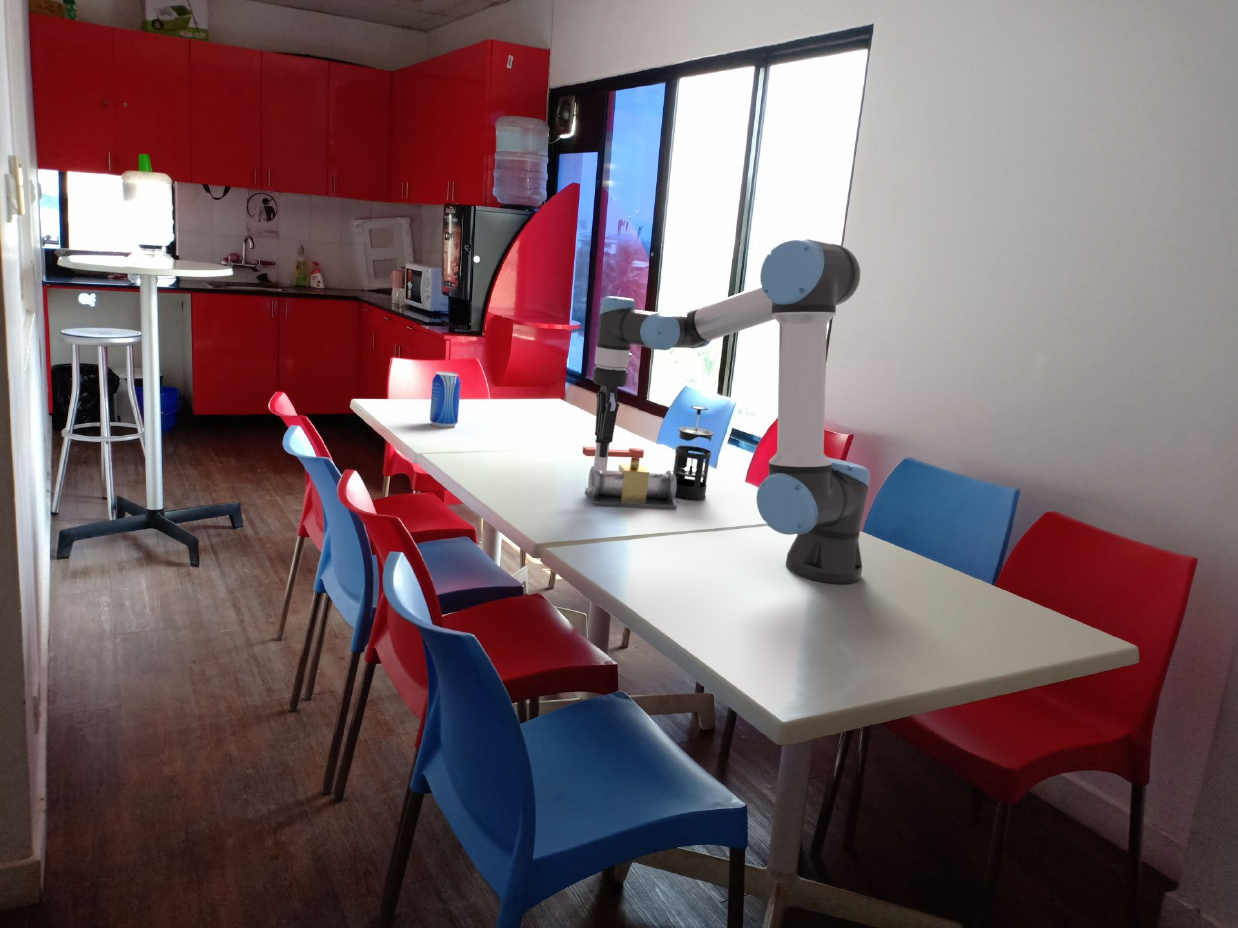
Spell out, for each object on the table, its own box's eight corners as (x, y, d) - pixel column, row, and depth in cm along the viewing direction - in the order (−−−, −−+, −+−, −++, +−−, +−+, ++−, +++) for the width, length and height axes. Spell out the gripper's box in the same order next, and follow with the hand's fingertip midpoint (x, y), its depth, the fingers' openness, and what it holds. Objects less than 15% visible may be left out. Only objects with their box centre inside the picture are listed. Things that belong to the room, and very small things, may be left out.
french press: (713, 501, 232) (726, 411, 227) (679, 501, 228) (692, 410, 223) (692, 488, 243) (704, 402, 237) (660, 488, 239) (671, 400, 234)
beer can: (426, 422, 285) (430, 370, 281) (453, 422, 289) (457, 371, 285) (433, 428, 278) (436, 375, 274) (460, 428, 281) (464, 376, 278)
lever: (639, 454, 224) (640, 448, 223) (645, 458, 221) (646, 451, 220) (581, 452, 219) (582, 446, 218) (586, 456, 215) (587, 449, 215)
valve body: (663, 495, 232) (668, 455, 230) (676, 509, 221) (682, 467, 218) (585, 491, 227) (589, 449, 225) (594, 505, 216) (599, 461, 214)
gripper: (634, 373, 200) (622, 478, 206) (621, 364, 213) (610, 463, 218) (600, 370, 199) (589, 476, 204) (589, 361, 211) (578, 462, 216)
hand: (599, 469), depth 211 cm, fingers closed
